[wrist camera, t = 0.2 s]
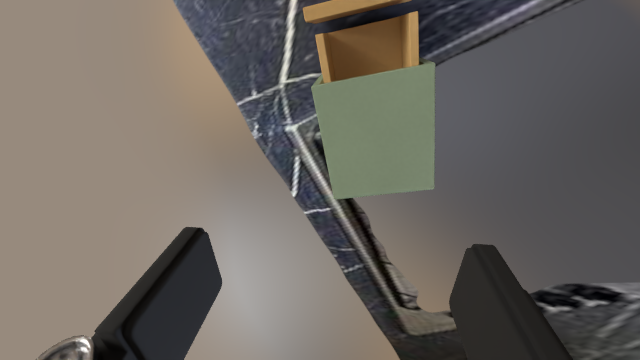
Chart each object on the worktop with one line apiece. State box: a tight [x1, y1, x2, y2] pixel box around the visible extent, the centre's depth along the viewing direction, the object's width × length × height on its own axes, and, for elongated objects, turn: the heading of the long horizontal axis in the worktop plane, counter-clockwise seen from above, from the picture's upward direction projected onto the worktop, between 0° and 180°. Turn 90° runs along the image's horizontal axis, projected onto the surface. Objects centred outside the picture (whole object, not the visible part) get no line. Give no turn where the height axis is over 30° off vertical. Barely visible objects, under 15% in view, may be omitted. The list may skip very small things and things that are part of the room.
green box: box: [311, 57, 435, 199], centre depth 34 cm, size 15×13×9 cm
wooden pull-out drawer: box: [303, 0, 419, 83], centre depth 30 cm, size 18×11×7 cm, turn 12°
